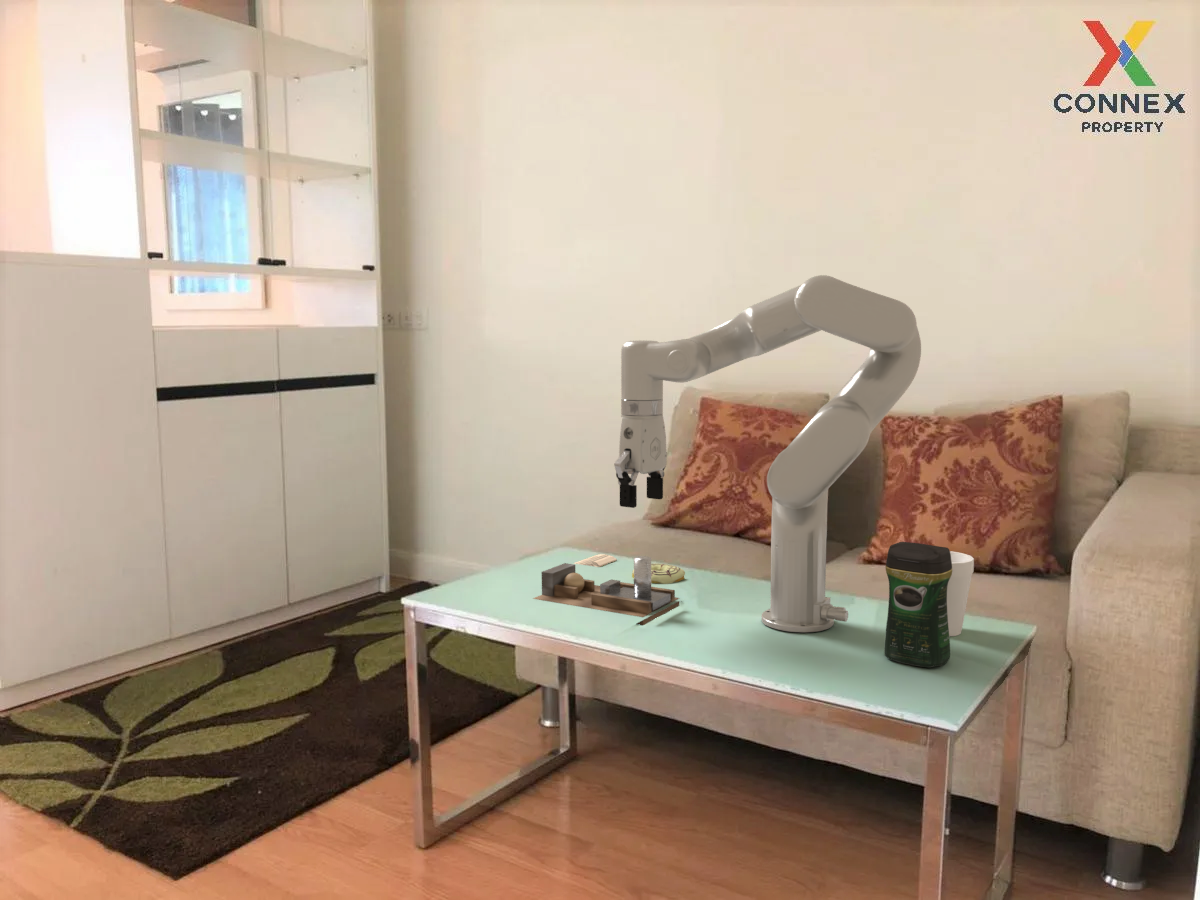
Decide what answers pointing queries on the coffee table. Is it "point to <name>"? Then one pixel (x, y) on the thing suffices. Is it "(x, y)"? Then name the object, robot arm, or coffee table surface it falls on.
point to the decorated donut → (665, 573)
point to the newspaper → (597, 560)
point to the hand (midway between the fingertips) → (641, 502)
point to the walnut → (574, 581)
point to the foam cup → (958, 590)
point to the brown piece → (597, 595)
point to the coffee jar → (918, 604)
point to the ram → (638, 585)
